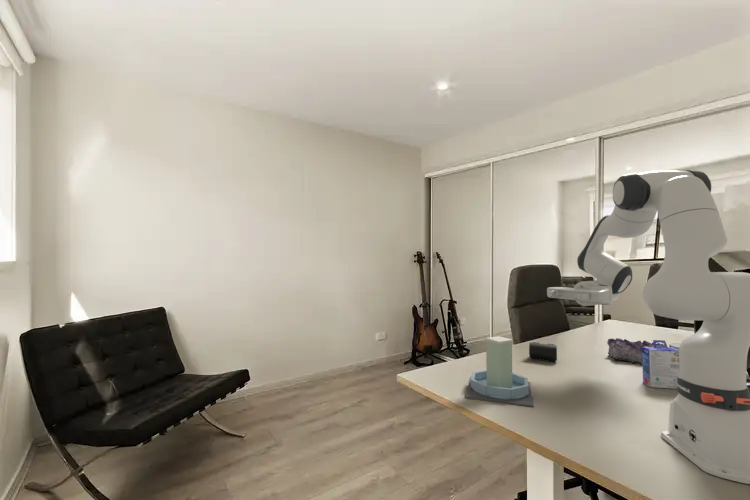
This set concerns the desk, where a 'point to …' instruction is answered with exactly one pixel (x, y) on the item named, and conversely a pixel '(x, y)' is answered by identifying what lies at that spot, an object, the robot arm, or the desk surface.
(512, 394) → the bowl
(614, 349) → the geode
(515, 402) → the mat
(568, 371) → the desk surface
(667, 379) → the ink cartridge box
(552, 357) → the end cap
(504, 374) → the tea tin
